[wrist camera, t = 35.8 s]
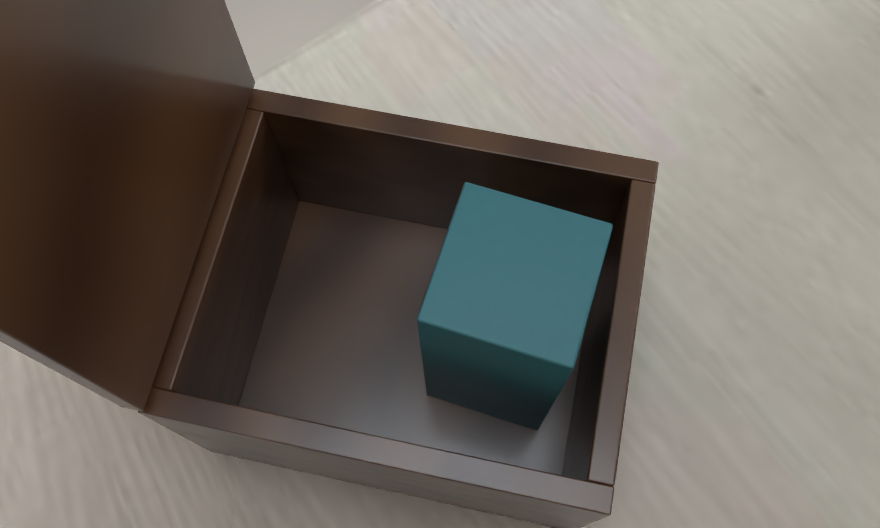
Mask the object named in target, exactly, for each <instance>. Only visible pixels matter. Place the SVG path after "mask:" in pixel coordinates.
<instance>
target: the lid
mask: <svg viewBox="0 0 880 528" xmlns="http://www.w3.org/2000/svg"><path fill="white" fill-rule="evenodd" d="M254 84H255V81H254V79H253V76H252V73H251V71H250V68H249V65H248V63H247V60H246V57H245V55H244V52H243V49H242V47H241V44H240V41H239V38H238V36H237V33H236V31H235V28H234V25H233V22H232V20H231V17H230V14H229V12H228V9H227V7H226V4H225V1H224V0H0V341H1V342H3V343H5V344H6V345H8V346H10V347H12V348H14V349H16V350H18V351H19V352H21V353H23V354H25V355H27V356H29V357H30V358H32V359H34V360H36V361H38V362H40V363H42V364H43V365H45V366H47V367H49V368H51V369H53V370H55V371H56V372H58V373H60V374H62V375H64V376H66V377H67V378H69V379H71V380H73V381H75V382H77V383H79V384H80V385H82V386H84V387H86V388H88V389H90V390H91V391H93V392H95V393H97V394H99V395H101V396H103V397H104V398H106V399H108V400H110V401H112V402H114V403H115V404H117V405H119V406H121V407H125V408H129V409H134V410H138V411H143V410H144V407H145V404H146V402H147V399H148V396H149V393H150V390H151V387H152V384H153V381H154V378H155V375H156V372H157V369H158V366H159V363H160V360H161V357H162V355H163V352H164V349H165V346H166V343H167V340H168V337H169V334H170V331H171V328H172V325H173V322H174V319H175V316H176V313H177V310H178V308H179V305H180V302H181V299H182V296H183V293H184V290H185V287H186V284H187V281H188V278H189V275H190V272H191V269H192V266H193V263H194V261H195V258H196V255H197V252H198V249H199V246H200V243H201V240H202V237H203V234H204V231H205V228H206V225H207V222H208V219H209V216H210V213H211V211H212V208H213V205H214V202H215V199H216V196H217V193H218V190H219V187H220V184H221V181H222V178H223V175H224V172H225V169H226V166H227V164H228V161H229V158H230V155H231V152H232V149H233V146H234V143H235V140H236V137H237V134H238V131H239V128H240V125H241V122H242V119H243V117H244V114H245V111H246V108H247V105H248V102H249V99H250V96H251V93H252V90H253V87H254Z"/></svg>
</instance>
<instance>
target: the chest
mask: <svg viewBox="0 0 880 528" xmlns="http://www.w3.org/2000/svg"><path fill="white" fill-rule="evenodd" d="M658 164H659V163H658V162H656V161H650V160H645V159H639V158H633V157H628V156H622V155H617V154H611V153H606V152H600V151H595V150H589V149H584V148H578V147H573V146H567V145H562V144H556V143H550V142H545V141H539V140H534V139H528V138H523V137H517V136H512V135H506V134H501V133H495V132H490V131H484V130H479V129H473V128H468V127H462V126H456V125H451V124H445V123H440V122H434V121H429V120H423V119H418V118H412V117H407V116H401V115H396V114H390V113H385V112H379V111H373V110H368V109H362V108H357V107H351V106H346V105H340V104H335V103H329V102H324V101H318V100H313V99H307V98H302V97H296V96H290V95H285V94H279V93H274V92H268V91H263V90H257V89H253V90H252V93H251V96H250V99H249V102H248V105H247V108H246V111H245V114H244V117H243V119H242V122H241V125H240V128H239V131H238V134H237V137H236V140H235V143H234V146H233V149H232V152H231V155H230V158H229V161H228V164H227V166H226V169H225V172H224V175H223V178H222V181H221V184H220V187H219V190H218V193H217V196H216V199H215V202H214V205H213V208H212V211H211V213H210V216H209V219H208V222H207V225H206V228H205V231H204V234H203V237H202V240H201V243H200V246H199V249H198V252H197V255H196V258H195V261H194V263H193V266H192V269H191V272H190V275H189V278H188V281H187V284H186V287H185V290H184V293H183V296H182V299H181V302H180V305H179V308H178V310H177V313H176V316H175V319H174V322H173V325H172V328H171V331H170V334H169V337H168V340H167V343H166V346H165V349H164V352H163V355H162V357H161V360H160V363H159V366H158V369H157V372H156V375H155V378H154V381H153V384H152V387H151V390H150V393H149V396H148V399H147V402H146V404H145V407H144V410H143V411H138V412H139V413H141V414H143V415H144V416H146V417H148V418H150V419H152V420H154V421H155V422H157V423H159V424H161V425H163V426H165V427H166V428H168V429H170V430H172V431H174V432H176V433H178V434H179V435H181V436H183V437H185V438H187V439H189V440H190V441H192V442H194V443H196V444H198V445H200V446H202V447H203V448H205V449H207V450H209V451H212V452H216V453H221V454H225V455H230V456H234V457H239V458H243V459H248V460H252V461H257V462H261V463H266V464H270V465H275V466H279V467H284V468H289V469H293V470H298V471H302V472H307V473H311V474H316V475H320V476H325V477H329V478H334V479H338V480H343V481H347V482H352V483H356V484H361V485H365V486H370V487H375V488H379V489H384V490H388V491H393V492H397V493H402V494H406V495H411V496H415V497H420V498H424V499H429V500H433V501H438V502H442V503H447V504H452V505H456V506H461V507H465V508H470V509H474V510H479V511H483V512H488V513H492V514H497V515H501V516H506V517H510V518H515V519H519V520H524V521H529V522H533V523H538V524H542V525H547V526H551V527H556V528H580V527H583V526H585V525H587V524H590V523H592V522H595V521H597V520H599V519H602V518H604V517H606V516H609V515H610V514H611V508H612V501H613V494H614V487H613V486H614V485H615V478H616V470H617V463H618V456H619V448H620V441H621V434H622V427H623V419H624V412H625V405H626V397H627V390H628V383H629V375H630V368H631V361H632V353H633V346H634V339H635V331H636V324H637V317H638V309H639V302H640V295H641V287H642V280H643V273H644V266H645V258H646V251H647V244H648V236H649V229H650V222H651V214H652V207H653V200H654V192H655V183H656V179H657V171H658ZM465 182H468V183H472V184H475V185H479V186H482V187H486V188H489V189H493V190H496V191H500V192H503V193H507V194H510V195H514V196H517V197H521V198H524V199H528V200H531V201H534V202H538V203H541V204H545V205H548V206H552V207H555V208H559V209H562V210H566V211H569V212H573V213H576V214H580V215H583V216H587V217H590V218H594V219H597V220H601V221H604V222H608V223H611V224H612V225H613V228H612V232H611V235H610V239H609V243H608V246H607V250H606V253H605V257H604V261H603V264H602V268H601V272H600V275H599V279H598V282H597V286H596V290H595V293H594V297H593V301H592V304H591V308H590V311H589V315H588V319H587V322H586V326H585V330H584V333H583V337H582V340H581V344H580V348H579V351H578V355H577V358H576V362H575V366H574V368H573V370H572V372H571V373H570V375H569V377H568V379H567V380H566V382H565V384H564V386H563V387H562V389H561V391H560V393H559V394H558V396H557V398H556V400H555V401H554V403H553V405H552V407H551V409H550V410H549V412H548V414H547V416H546V417H545V419H544V421H543V423H542V424H541V426H540V428H539V429H538V430H534V429H531V428H528V427H525V426H522V425H519V424H516V423H513V422H509V421H506V420H503V419H500V418H497V417H494V416H491V415H488V414H485V413H482V412H478V411H475V410H472V409H469V408H466V407H463V406H460V405H457V404H454V403H450V402H447V401H444V400H441V399H438V398H435V397H432V396H429V395H427V394H426V386H425V379H424V371H423V363H422V356H421V348H420V341H419V333H418V326H417V316H418V313H419V310H420V307H421V304H422V301H423V298H424V296H425V293H426V290H427V287H428V284H429V281H430V279H431V276H432V273H433V270H434V267H435V264H436V261H437V259H438V256H439V253H440V250H441V247H442V244H443V242H444V239H445V236H446V233H447V230H448V227H449V224H450V222H451V219H452V216H453V213H454V210H455V207H456V205H457V202H458V199H459V196H460V193H461V190H462V187H463V185H464V183H465Z"/></svg>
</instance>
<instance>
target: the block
mask: <svg viewBox="0 0 880 528" xmlns="http://www.w3.org/2000/svg"><path fill="white" fill-rule="evenodd" d="M612 228H613V225H612V224H611V223H608V222H604V221H601V220H597V219H594V218H590V217H587V216H583V215H580V214H576V213H573V212H569V211H566V210H562V209H559V208H555V207H552V206H548V205H545V204H541V203H538V202H534V201H531V200H528V199H524V198H521V197H517V196H514V195H510V194H507V193H503V192H500V191H496V190H493V189H489V188H486V187H482V186H479V185H475V184H472V183H468V182H465V183H464V185H463V187H462V190H461V193H460V196H459V199H458V202H457V205H456V207H455V210H454V213H453V216H452V219H451V222H450V224H449V227H448V230H447V233H446V236H445V239H444V242H443V244H442V247H441V250H440V253H439V256H438V259H437V261H436V264H435V267H434V270H433V273H432V276H431V279H430V281H429V284H428V287H427V290H426V293H425V296H424V298H423V301H422V304H421V307H420V310H419V313H418V316H417V326H418V333H419V341H420V348H421V356H422V363H423V371H424V379H425V386H426V394H427V395H429V396H432V397H435V398H438V399H441V400H444V401H447V402H450V403H454V404H457V405H460V406H463V407H466V408H469V409H472V410H475V411H478V412H482V413H485V414H488V415H491V416H494V417H497V418H500V419H503V420H506V421H509V422H513V423H516V424H519V425H522V426H525V427H528V428H531V429H534V430H538V429H539V428H540V426H541V424H542V423H543V421H544V419H545V417H546V416H547V414H548V412H549V410H550V409H551V407H552V405H553V403H554V401H555V400H556V398H557V396H558V394H559V393H560V391H561V389H562V387H563V386H564V384H565V382H566V380H567V379H568V377H569V375H570V373H571V372H572V370H573V368H574V366H575V362H576V358H577V355H578V351H579V348H580V344H581V340H582V337H583V333H584V330H585V326H586V322H587V319H588V315H589V311H590V308H591V304H592V301H593V297H594V293H595V290H596V286H597V282H598V279H599V275H600V272H601V268H602V264H603V261H604V257H605V253H606V250H607V246H608V243H609V239H610V235H611V232H612Z"/></svg>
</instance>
